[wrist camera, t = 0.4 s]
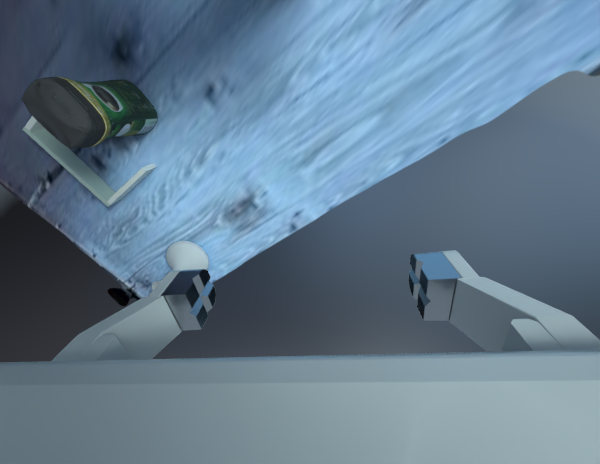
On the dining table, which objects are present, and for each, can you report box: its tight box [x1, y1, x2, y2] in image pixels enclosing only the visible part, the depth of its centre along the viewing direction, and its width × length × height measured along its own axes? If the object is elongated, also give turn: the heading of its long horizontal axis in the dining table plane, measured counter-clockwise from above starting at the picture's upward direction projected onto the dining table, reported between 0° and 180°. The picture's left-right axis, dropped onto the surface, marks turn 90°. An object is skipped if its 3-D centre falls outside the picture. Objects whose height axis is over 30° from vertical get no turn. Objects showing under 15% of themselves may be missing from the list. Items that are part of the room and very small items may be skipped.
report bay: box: [23, 116, 156, 207], centre depth 54 cm, size 14×20×4 cm
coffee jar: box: [22, 77, 157, 148], centre depth 44 cm, size 10×8×19 cm
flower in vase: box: [152, 241, 209, 291], centre depth 57 cm, size 13×11×25 cm
